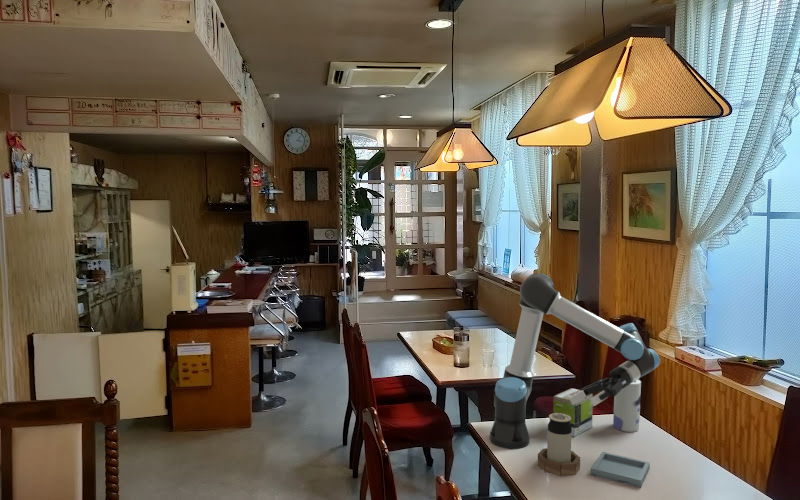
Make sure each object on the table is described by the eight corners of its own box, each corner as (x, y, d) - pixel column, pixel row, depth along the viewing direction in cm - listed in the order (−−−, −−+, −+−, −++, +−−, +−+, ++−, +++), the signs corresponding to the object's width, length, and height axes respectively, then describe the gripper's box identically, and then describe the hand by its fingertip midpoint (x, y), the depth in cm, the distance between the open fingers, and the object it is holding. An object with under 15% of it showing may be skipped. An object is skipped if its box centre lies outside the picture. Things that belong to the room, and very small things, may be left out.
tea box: (570, 421, 246) (571, 387, 245) (592, 427, 239) (594, 392, 238) (552, 430, 236) (553, 394, 235) (574, 437, 228) (575, 400, 227)
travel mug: (547, 471, 199) (549, 420, 198) (545, 461, 207) (547, 411, 205) (571, 473, 198) (573, 421, 196) (568, 462, 205) (570, 413, 204)
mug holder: (533, 469, 200) (533, 458, 200) (546, 455, 211) (546, 444, 211) (572, 479, 193) (572, 467, 193) (583, 464, 204) (583, 453, 204)
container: (641, 433, 234) (643, 384, 232) (615, 431, 236) (617, 382, 234) (636, 424, 243) (638, 377, 242) (611, 422, 245) (613, 375, 244)
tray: (590, 475, 196) (590, 468, 196) (602, 458, 210) (602, 451, 210) (640, 487, 188) (641, 480, 187) (649, 469, 201) (649, 462, 201)
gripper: (651, 384, 204) (606, 413, 197) (608, 384, 227) (567, 410, 220) (641, 364, 205) (596, 393, 198) (600, 367, 228) (558, 392, 221)
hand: (581, 402), depth 209 cm, fingers open, 13 cm apart
